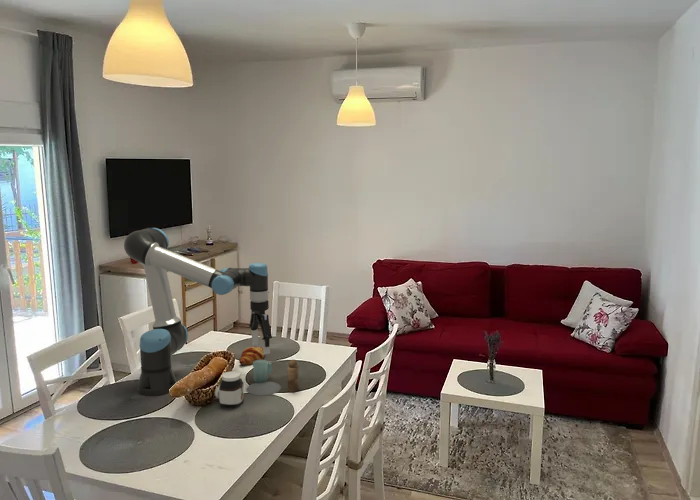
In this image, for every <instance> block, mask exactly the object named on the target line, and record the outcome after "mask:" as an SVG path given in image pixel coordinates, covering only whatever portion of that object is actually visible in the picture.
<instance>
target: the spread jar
mask: <svg viewBox="0 0 700 500" xmlns="http://www.w3.org/2000/svg"><path fill="white" fill-rule="evenodd" d="M214 396H215V398H217V399H219V403H220V405H221V406H223V407H224V408H236V407H238V406H239V407H240V406H241V404H242V403H243V400H244V381H243V379H242V378H241V373H240V372H239V371H226V372H223V373H222V374H221V382H220V383H219V385H218V386H217V387H216V389H215V392H214Z"/></svg>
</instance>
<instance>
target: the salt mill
mask: <svg viewBox="0 0 700 500" xmlns="http://www.w3.org/2000/svg"><path fill="white" fill-rule="evenodd" d="M286 368H287V391H288V392H289V393H296V392H299V387H300V386H299V380H300V379H299V365H298V362H297V360H295V359H291V360H289V362H288V365H287V367H286Z"/></svg>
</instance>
